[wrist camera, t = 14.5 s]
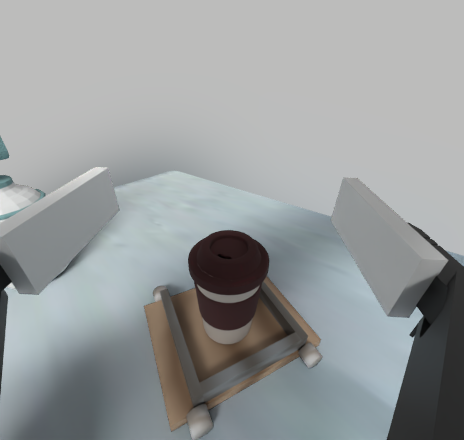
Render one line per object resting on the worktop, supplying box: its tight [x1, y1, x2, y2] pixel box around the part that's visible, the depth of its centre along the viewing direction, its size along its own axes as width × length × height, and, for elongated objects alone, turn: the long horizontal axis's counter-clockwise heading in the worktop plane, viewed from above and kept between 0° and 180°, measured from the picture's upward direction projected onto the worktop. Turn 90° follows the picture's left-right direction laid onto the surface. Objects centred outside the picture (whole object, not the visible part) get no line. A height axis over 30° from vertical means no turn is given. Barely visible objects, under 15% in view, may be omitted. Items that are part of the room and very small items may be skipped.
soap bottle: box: [0, 137, 70, 289], centre depth 37 cm, size 12×12×31 cm
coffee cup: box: [188, 230, 269, 344], centre depth 31 cm, size 10×10×15 cm
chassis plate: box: [144, 276, 322, 440], centre depth 35 cm, size 22×21×4 cm
